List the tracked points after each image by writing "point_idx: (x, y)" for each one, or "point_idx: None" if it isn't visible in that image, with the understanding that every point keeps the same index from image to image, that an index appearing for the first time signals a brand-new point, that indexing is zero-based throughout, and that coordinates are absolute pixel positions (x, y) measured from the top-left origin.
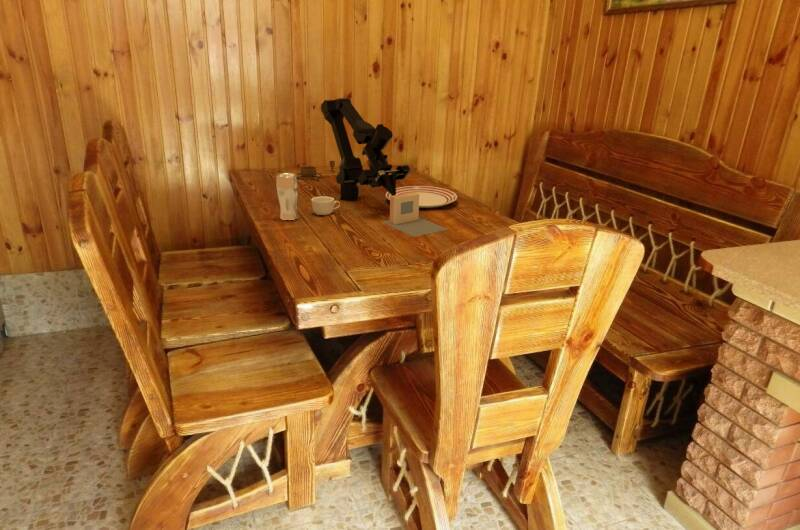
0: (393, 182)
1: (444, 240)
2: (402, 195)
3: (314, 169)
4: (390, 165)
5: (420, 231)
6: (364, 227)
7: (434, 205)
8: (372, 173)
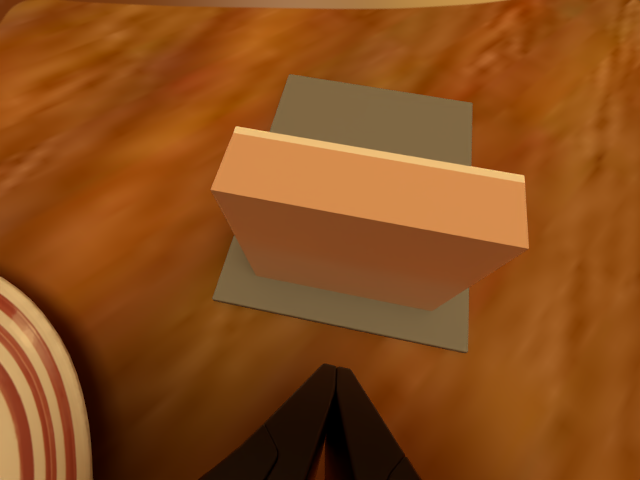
0: (303, 456)
1: (392, 36)
2: (400, 187)
3: None
4: None
5: (403, 122)
6: (605, 364)
7: (4, 280)
8: None
